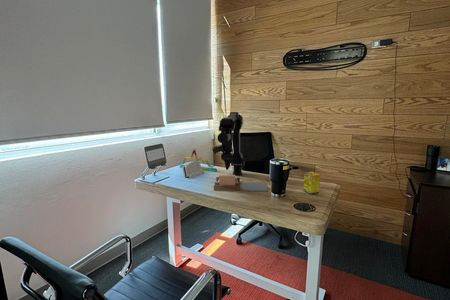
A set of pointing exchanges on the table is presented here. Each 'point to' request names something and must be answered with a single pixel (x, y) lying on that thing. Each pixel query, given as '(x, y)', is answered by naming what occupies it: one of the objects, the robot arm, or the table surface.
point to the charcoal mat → (254, 186)
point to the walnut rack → (227, 187)
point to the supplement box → (311, 182)
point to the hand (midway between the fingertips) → (227, 167)
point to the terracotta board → (227, 180)
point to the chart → (202, 162)
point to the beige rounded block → (192, 169)
